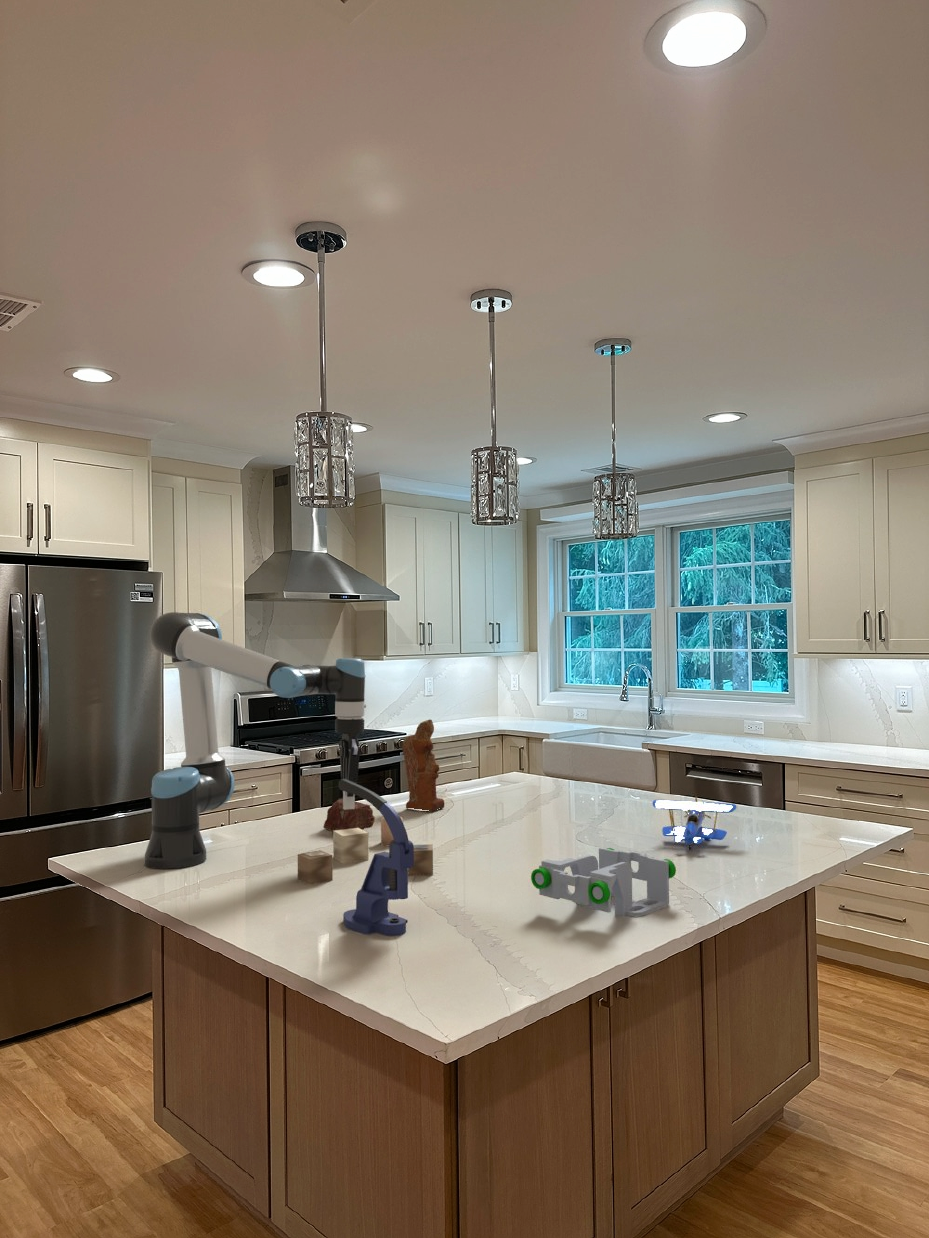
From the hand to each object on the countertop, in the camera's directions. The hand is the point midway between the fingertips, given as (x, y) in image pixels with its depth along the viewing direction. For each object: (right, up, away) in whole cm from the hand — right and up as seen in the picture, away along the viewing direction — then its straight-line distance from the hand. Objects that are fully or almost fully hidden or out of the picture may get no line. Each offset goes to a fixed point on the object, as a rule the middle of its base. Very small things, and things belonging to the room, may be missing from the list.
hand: (348, 808), depth 224 cm
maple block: (+1, -13, 0) cm, 13 cm away
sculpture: (+17, -15, +65) cm, 68 cm away
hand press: (+12, -11, -54) cm, 57 cm away
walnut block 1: (-5, -13, -20) cm, 24 cm away
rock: (-5, -14, +32) cm, 35 cm away
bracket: (+59, -11, -44) cm, 75 cm away
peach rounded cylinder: (+10, -13, +16) cm, 23 cm away
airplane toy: (+92, -12, +11) cm, 94 cm away
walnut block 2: (+19, -12, -14) cm, 27 cm away
